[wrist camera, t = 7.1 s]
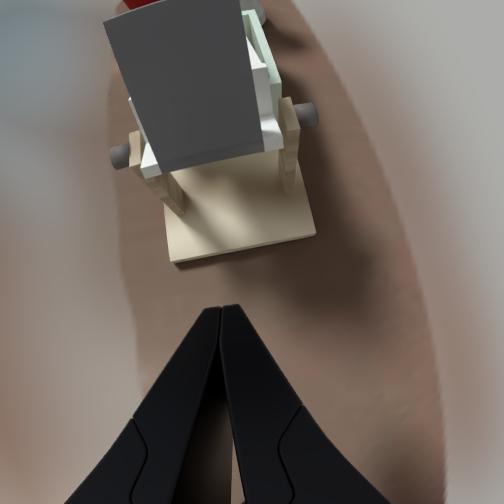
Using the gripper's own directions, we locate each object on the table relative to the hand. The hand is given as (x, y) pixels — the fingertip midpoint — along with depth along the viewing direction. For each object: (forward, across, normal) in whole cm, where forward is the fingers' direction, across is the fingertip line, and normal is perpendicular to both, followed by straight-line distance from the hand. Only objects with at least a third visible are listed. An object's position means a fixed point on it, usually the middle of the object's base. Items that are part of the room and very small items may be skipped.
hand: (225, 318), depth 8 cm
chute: (+12, 0, -4) cm, 13 cm away
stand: (+16, 0, +3) cm, 16 cm away
